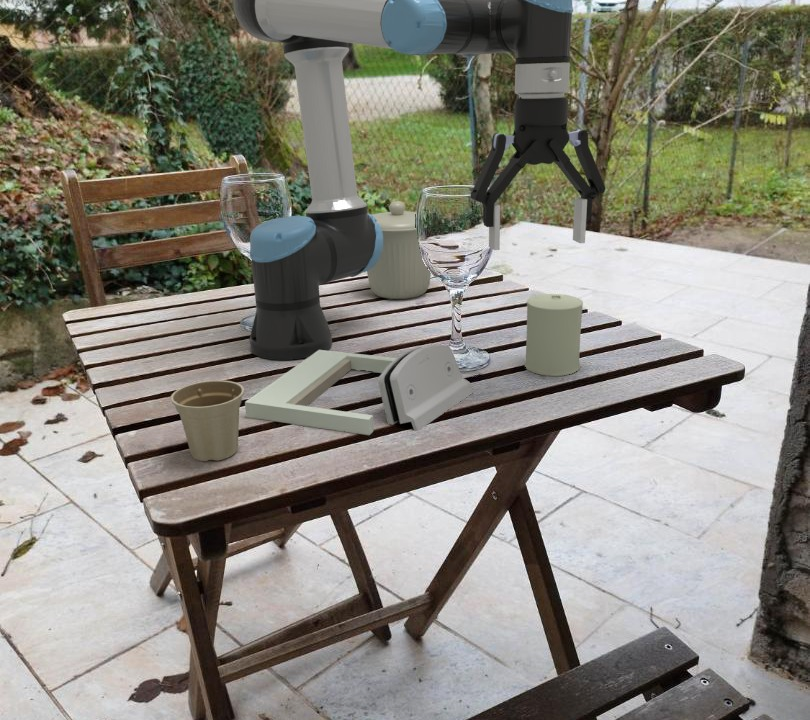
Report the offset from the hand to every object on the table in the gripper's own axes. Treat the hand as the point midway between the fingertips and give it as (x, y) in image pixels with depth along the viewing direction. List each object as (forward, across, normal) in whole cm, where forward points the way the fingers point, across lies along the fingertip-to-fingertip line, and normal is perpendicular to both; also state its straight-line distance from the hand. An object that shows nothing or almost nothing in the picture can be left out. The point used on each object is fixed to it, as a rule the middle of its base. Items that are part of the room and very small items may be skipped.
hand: (536, 245), depth 115 cm
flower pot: (+23, -50, -11) cm, 56 cm away
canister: (+22, -9, +59) cm, 64 cm away
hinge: (+23, -19, -4) cm, 30 cm away
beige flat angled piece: (+22, -30, +4) cm, 38 cm away
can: (+23, +6, +6) cm, 24 cm away
